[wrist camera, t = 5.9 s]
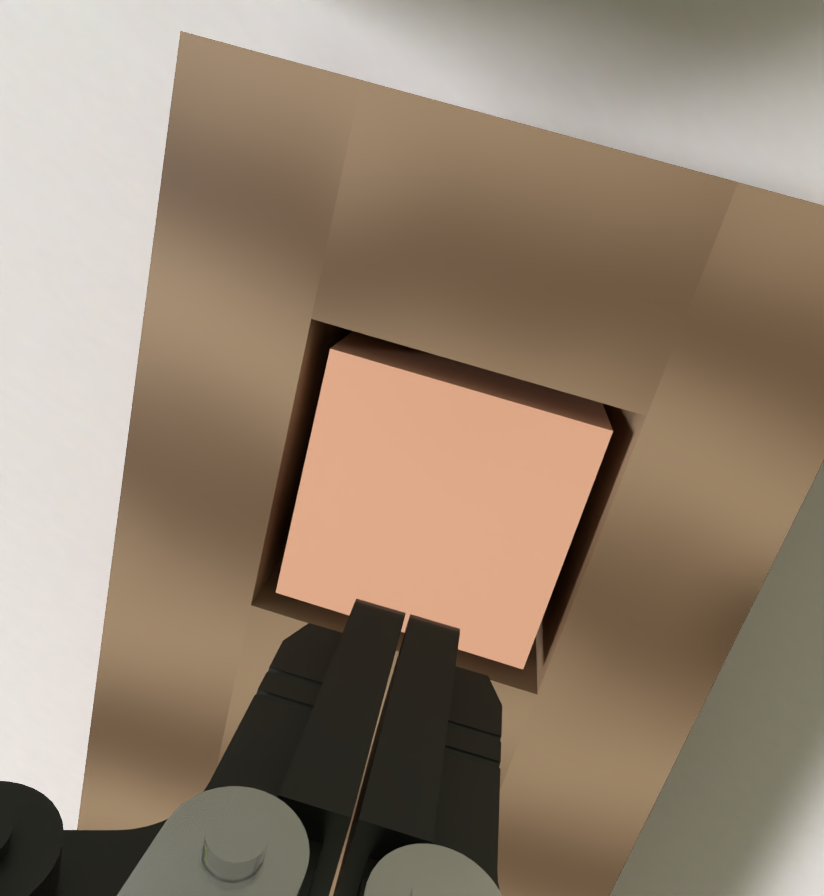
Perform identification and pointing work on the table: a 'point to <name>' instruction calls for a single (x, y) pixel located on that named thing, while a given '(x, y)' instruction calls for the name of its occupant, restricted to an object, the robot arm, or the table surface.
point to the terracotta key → (440, 493)
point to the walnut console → (478, 344)
